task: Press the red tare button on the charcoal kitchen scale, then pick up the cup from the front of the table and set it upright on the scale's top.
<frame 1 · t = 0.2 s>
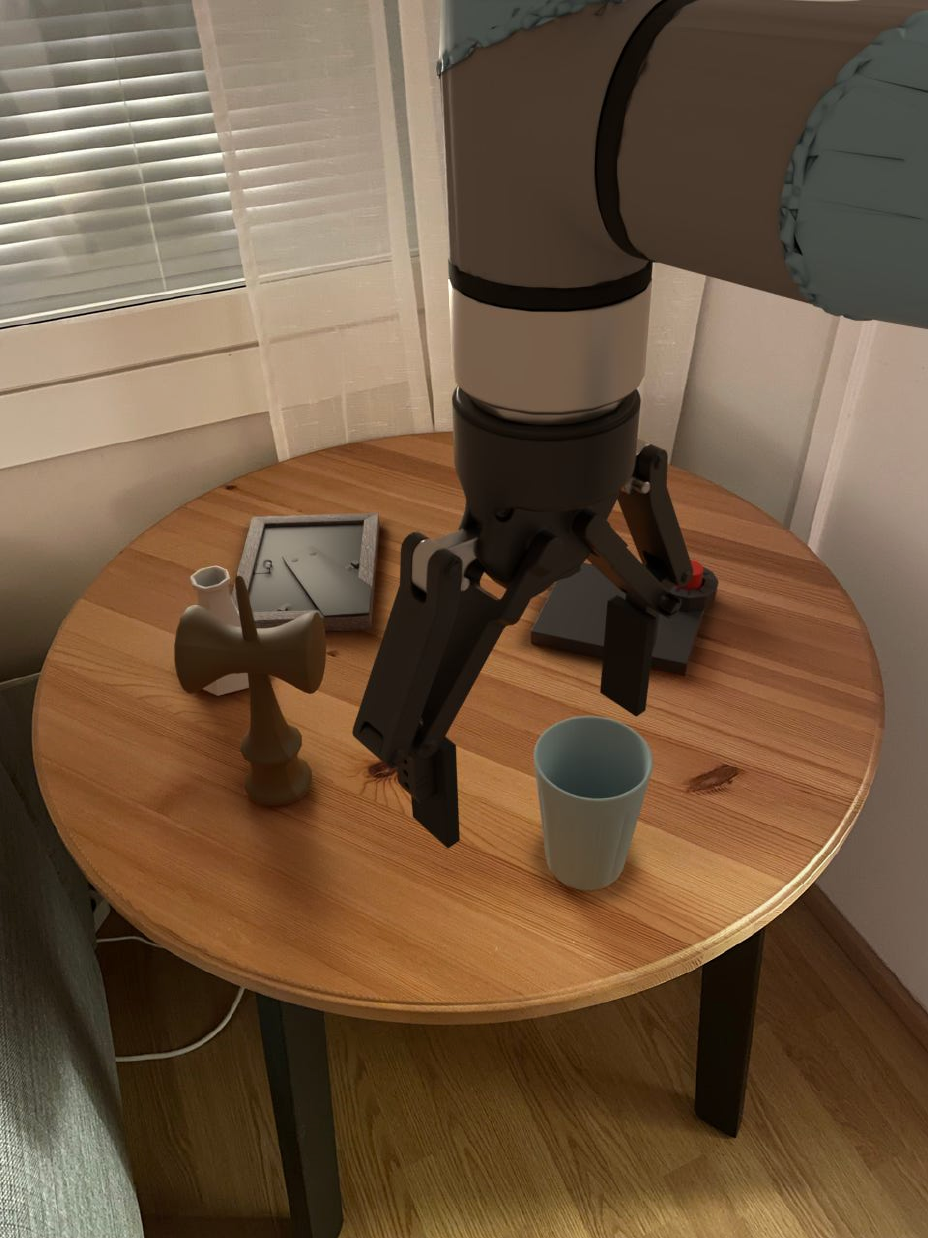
hand: (535, 761, 53), 19 cm above the table, tool pointing down, fingers open, 13 cm apart
kendama: (280, 788, 78), on the table
scale: (621, 619, 93), on the table
cup: (584, 861, 71), on the table
tare button: (688, 575, 92), point 4 cm above the table, slide at 0.1 cm
picture frame: (309, 577, 100), on the table
flask: (230, 670, 89), on the table
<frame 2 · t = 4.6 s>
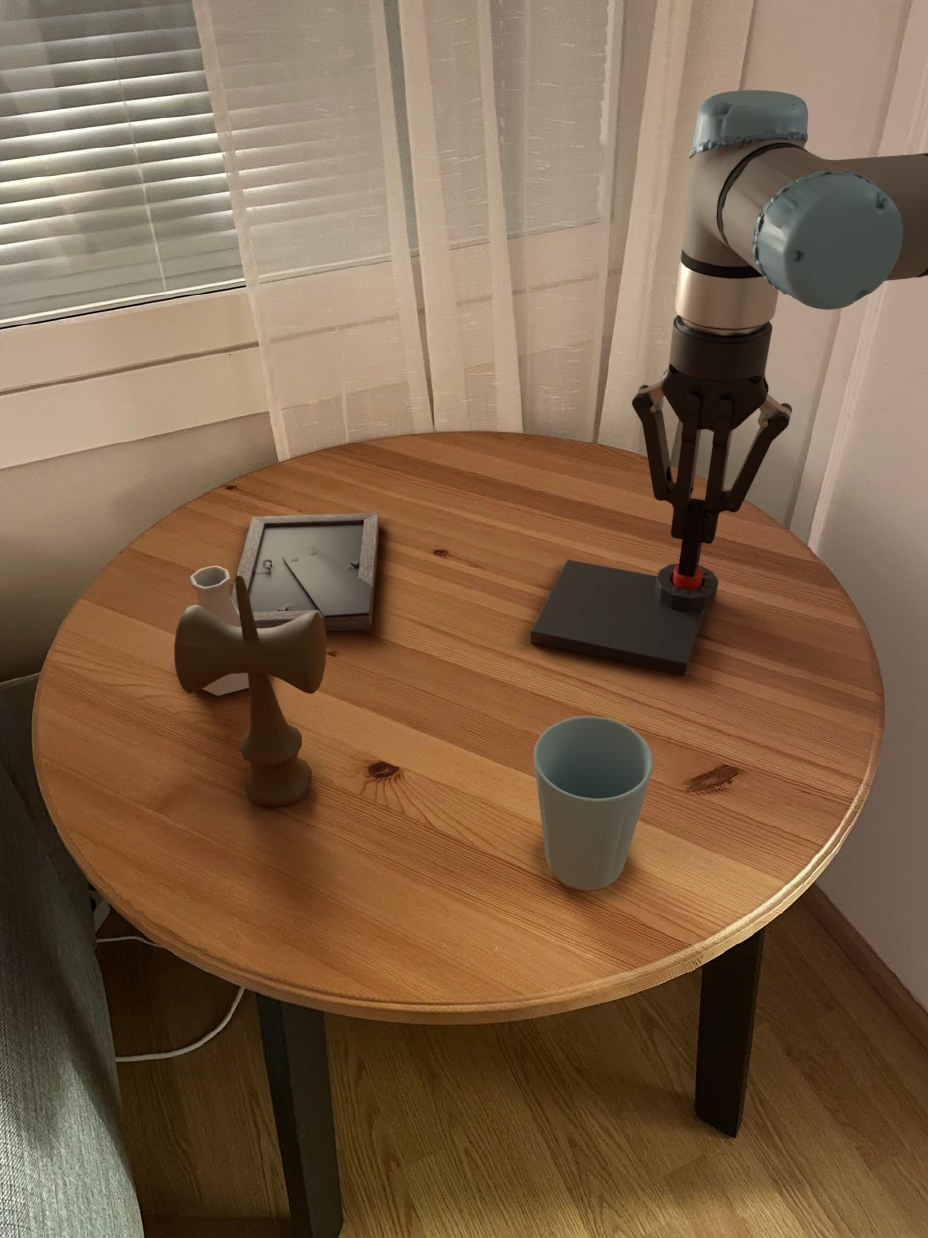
hand: (688, 567, 92), 4 cm above the table, tool pointing down, fingers closed
tare button: (687, 578, 93), point 3 cm above the table, slide at -0.2 cm, touching gripper
everything else where it was.
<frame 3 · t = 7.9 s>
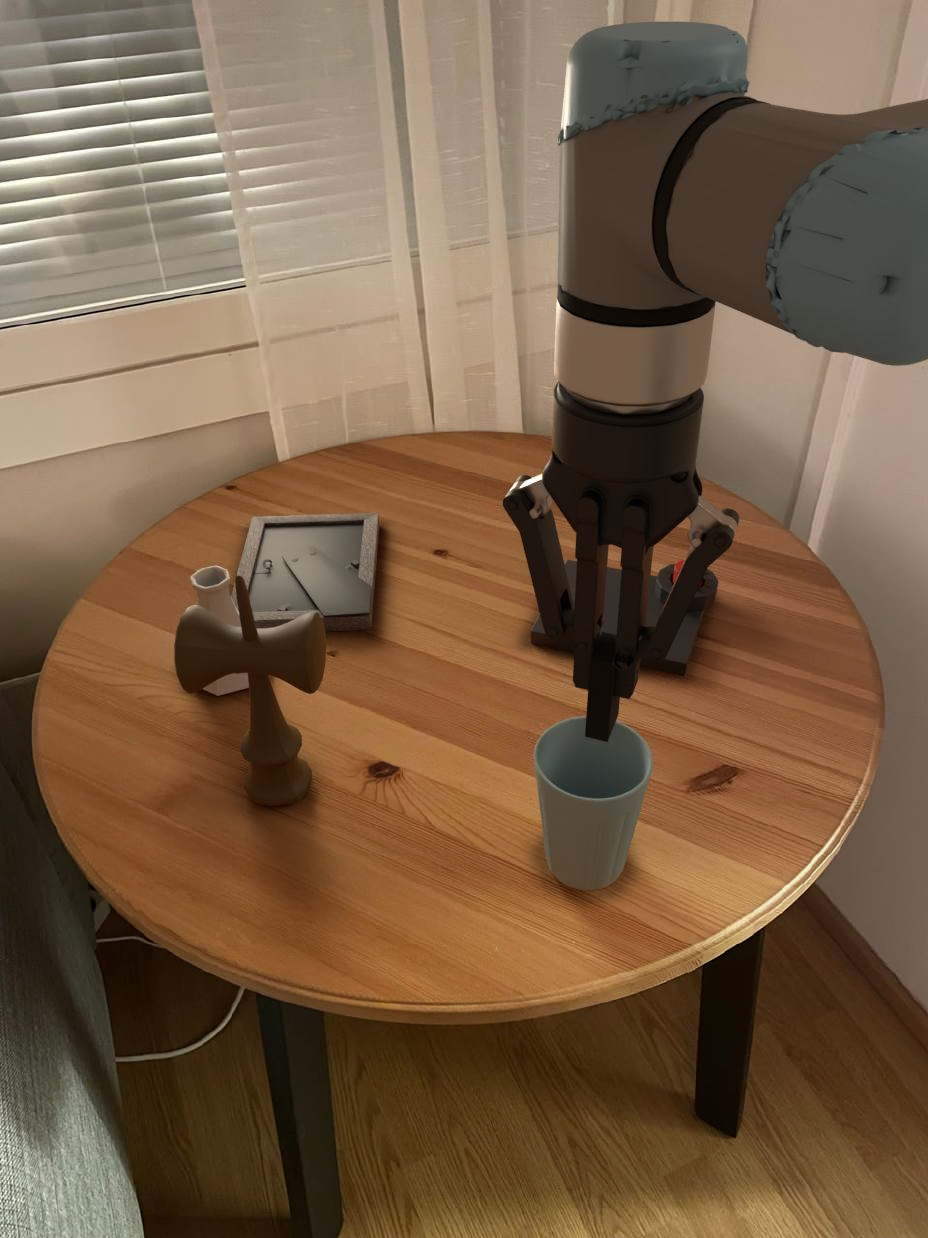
hand: (601, 725, 65), 12 cm above the table, tool pointing down, fingers closed
tare button: (688, 575, 92), point 4 cm above the table, slide at 0.1 cm
everything else where it was.
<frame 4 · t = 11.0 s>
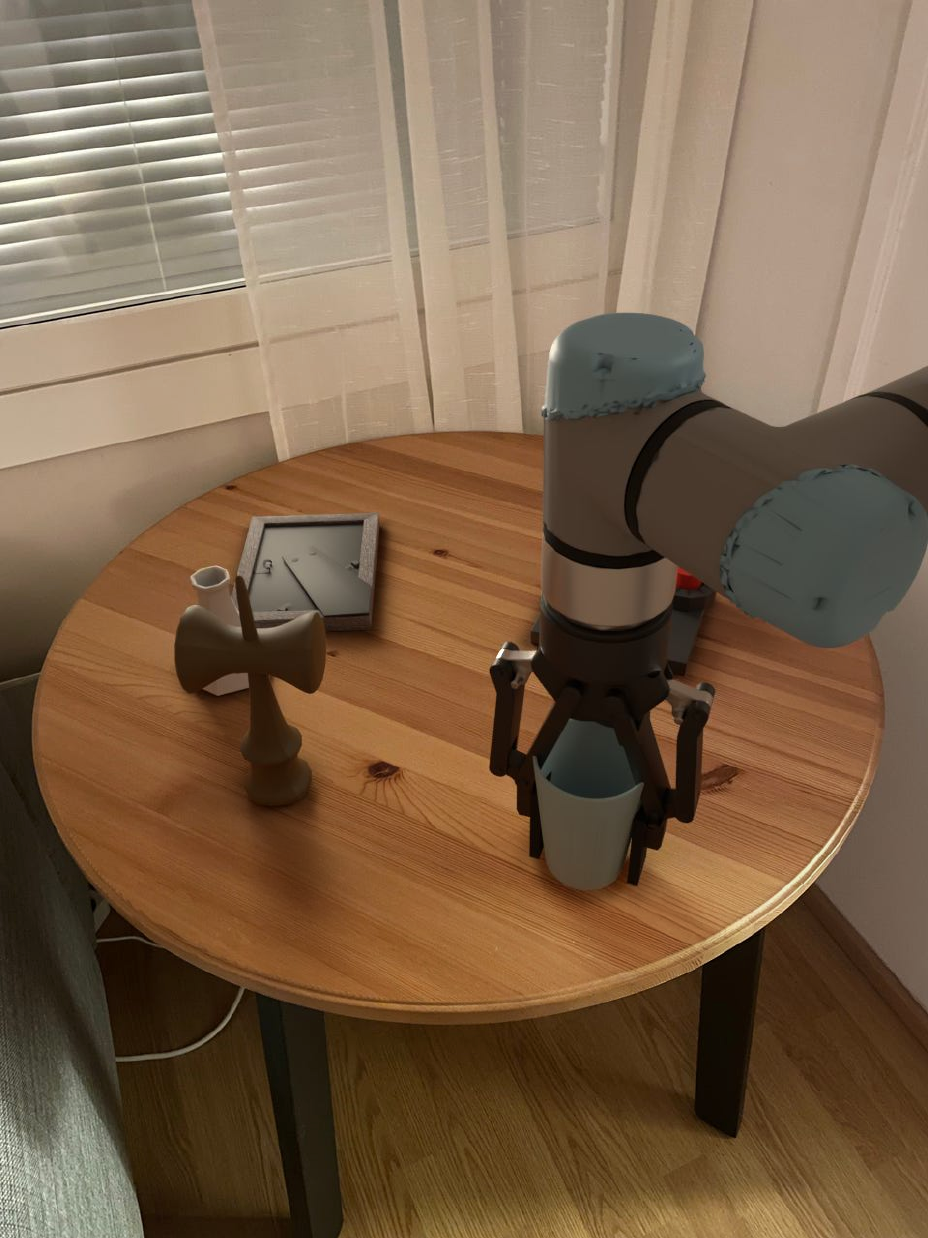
hand: (587, 856, 71), 0 cm above the table, tool pointing down, fingers closed on cup, 6 cm apart
cup: (584, 861, 71), on the table, touching gripper
everything else where it was.
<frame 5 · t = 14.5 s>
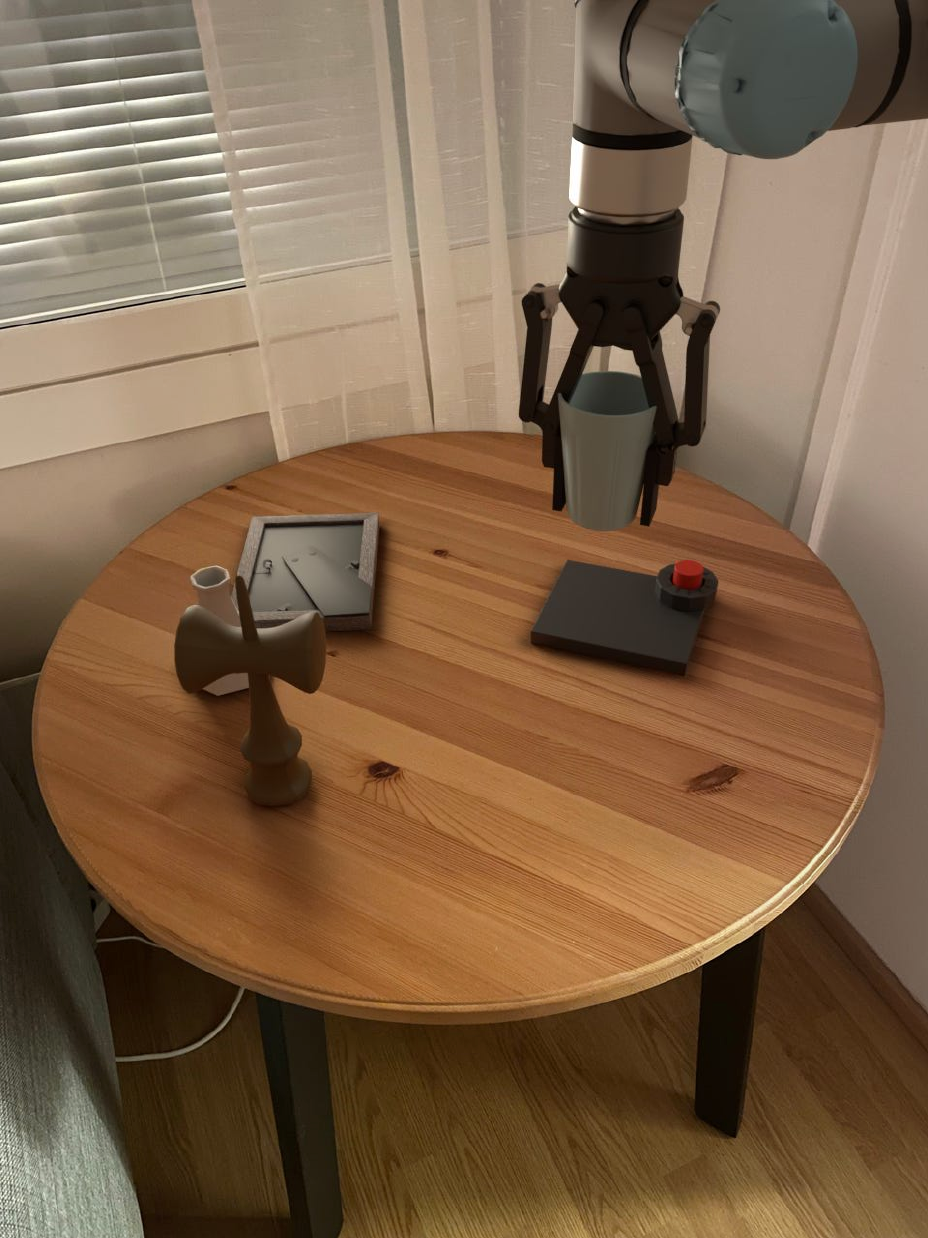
hand: (604, 509, 80), 15 cm above the table, tool pointing down, fingers closed on cup, 6 cm apart
cup: (601, 515, 80), point 15 cm above the table, touching gripper
everything else where it was.
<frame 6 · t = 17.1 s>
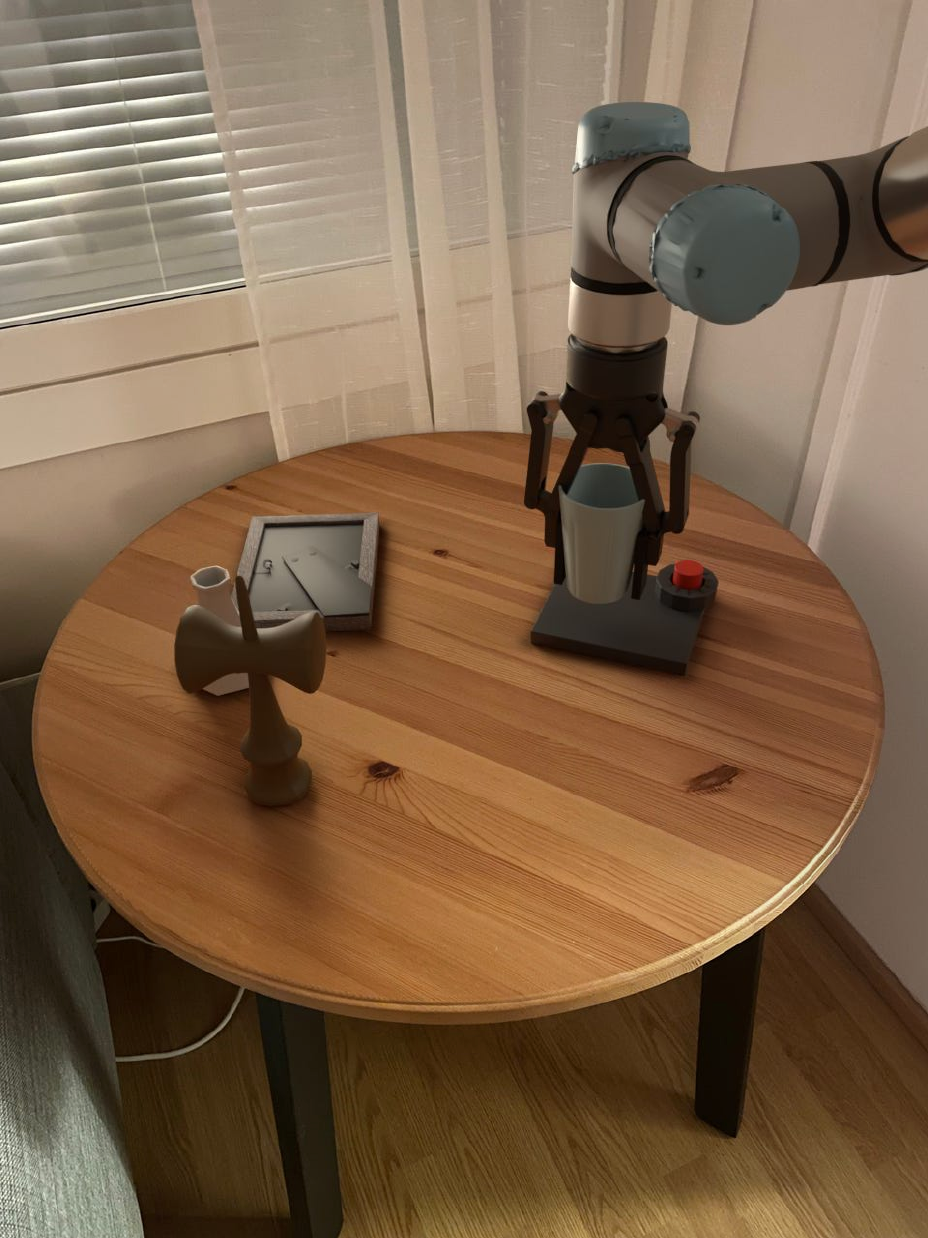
hand: (599, 582, 90), 5 cm above the table, tool pointing down, fingers closed on cup, 6 cm apart
cup: (597, 588, 90), point 4 cm above the table, touching gripper
everything else where it was.
when the fingers open (2 cm above the table, at t = 18.4 s): cup stays where it is, resting on scale.
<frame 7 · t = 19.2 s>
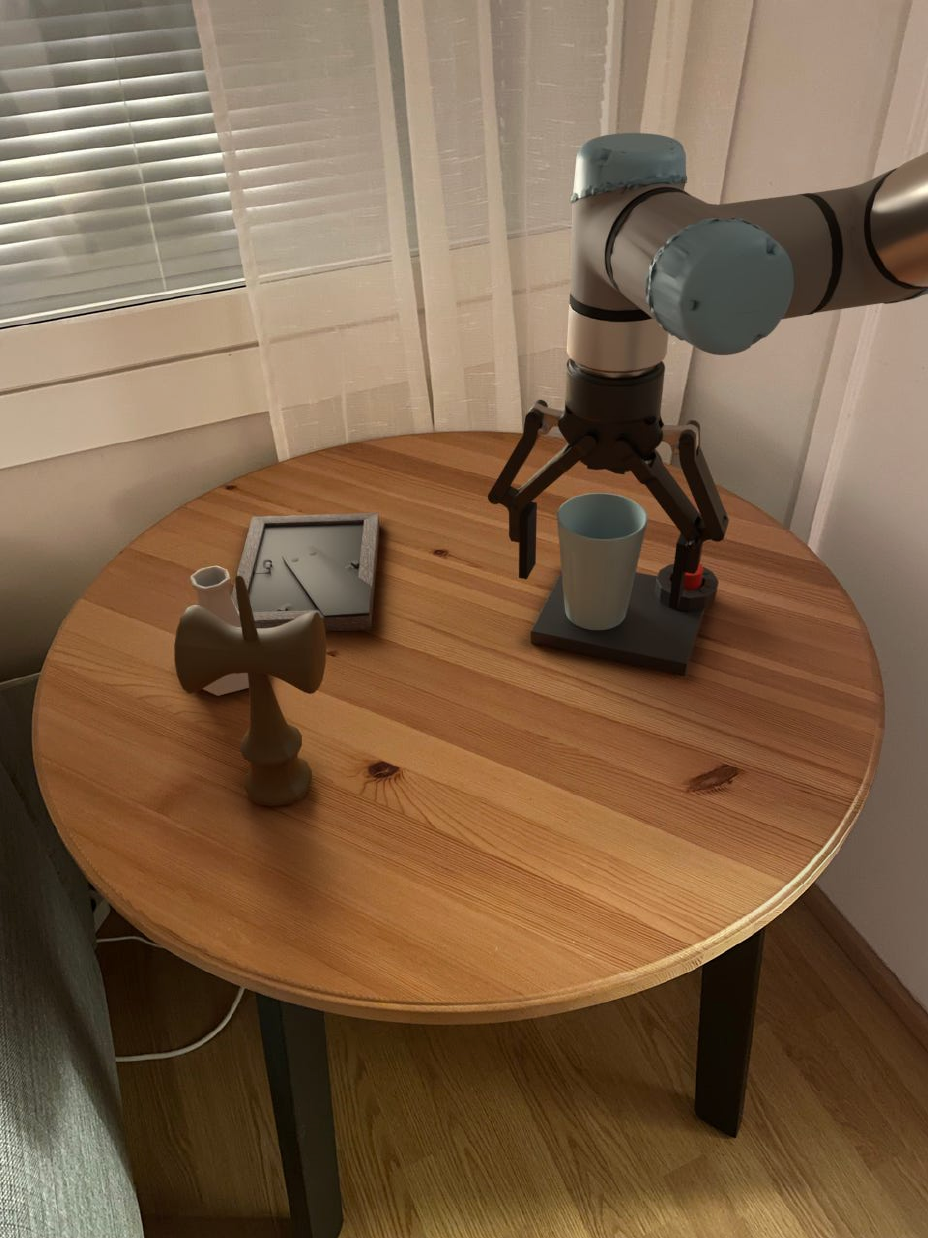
hand: (599, 584, 90), 5 cm above the table, tool pointing down, fingers open, 13 cm apart
cup: (595, 614, 92), point 1 cm above the table, touching scale
everything else where it was.
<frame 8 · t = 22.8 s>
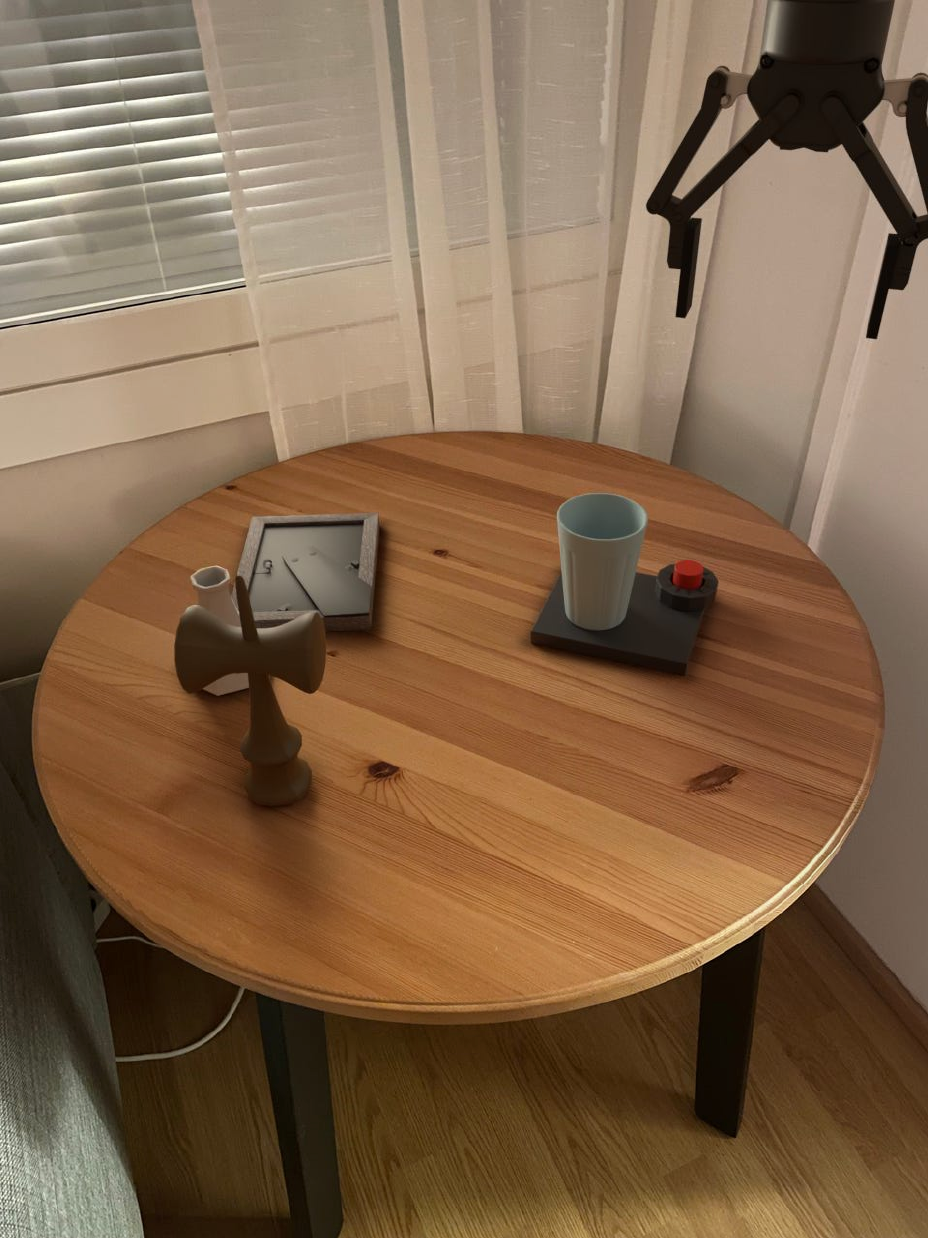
hand: (775, 321, 74), 29 cm above the table, tool pointing down, fingers open, 13 cm apart
nothing on the table moved.
at the end: tare button pushed in 0.8 cm at the most during the clip, back to where it started at the end; cup inside the target area on the scale (2.0 cm from its centre), point 1.2 cm above the scale's base; cup touching scale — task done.
